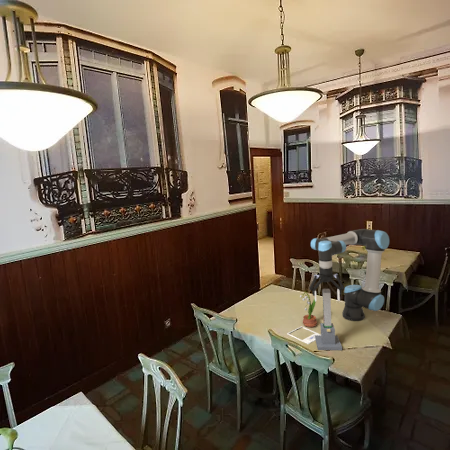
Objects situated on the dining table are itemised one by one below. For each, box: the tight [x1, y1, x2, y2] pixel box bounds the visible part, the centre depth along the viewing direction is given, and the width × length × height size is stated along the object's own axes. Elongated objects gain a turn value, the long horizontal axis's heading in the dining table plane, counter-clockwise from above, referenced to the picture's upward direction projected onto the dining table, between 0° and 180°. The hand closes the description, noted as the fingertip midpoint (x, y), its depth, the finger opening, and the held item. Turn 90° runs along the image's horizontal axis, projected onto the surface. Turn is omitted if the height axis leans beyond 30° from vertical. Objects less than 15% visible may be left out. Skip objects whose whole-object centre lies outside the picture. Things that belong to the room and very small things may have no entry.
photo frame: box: [286, 325, 321, 345], centre depth 212 cm, size 15×1×18 cm
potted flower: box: [299, 292, 318, 328], centre depth 223 cm, size 12×10×25 cm
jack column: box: [322, 288, 332, 328], centre depth 196 cm, size 4×4×25 cm
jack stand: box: [315, 322, 343, 351], centre depth 198 cm, size 14×14×12 cm
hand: (327, 300), depth 195 cm, fingers open, 13 cm apart
